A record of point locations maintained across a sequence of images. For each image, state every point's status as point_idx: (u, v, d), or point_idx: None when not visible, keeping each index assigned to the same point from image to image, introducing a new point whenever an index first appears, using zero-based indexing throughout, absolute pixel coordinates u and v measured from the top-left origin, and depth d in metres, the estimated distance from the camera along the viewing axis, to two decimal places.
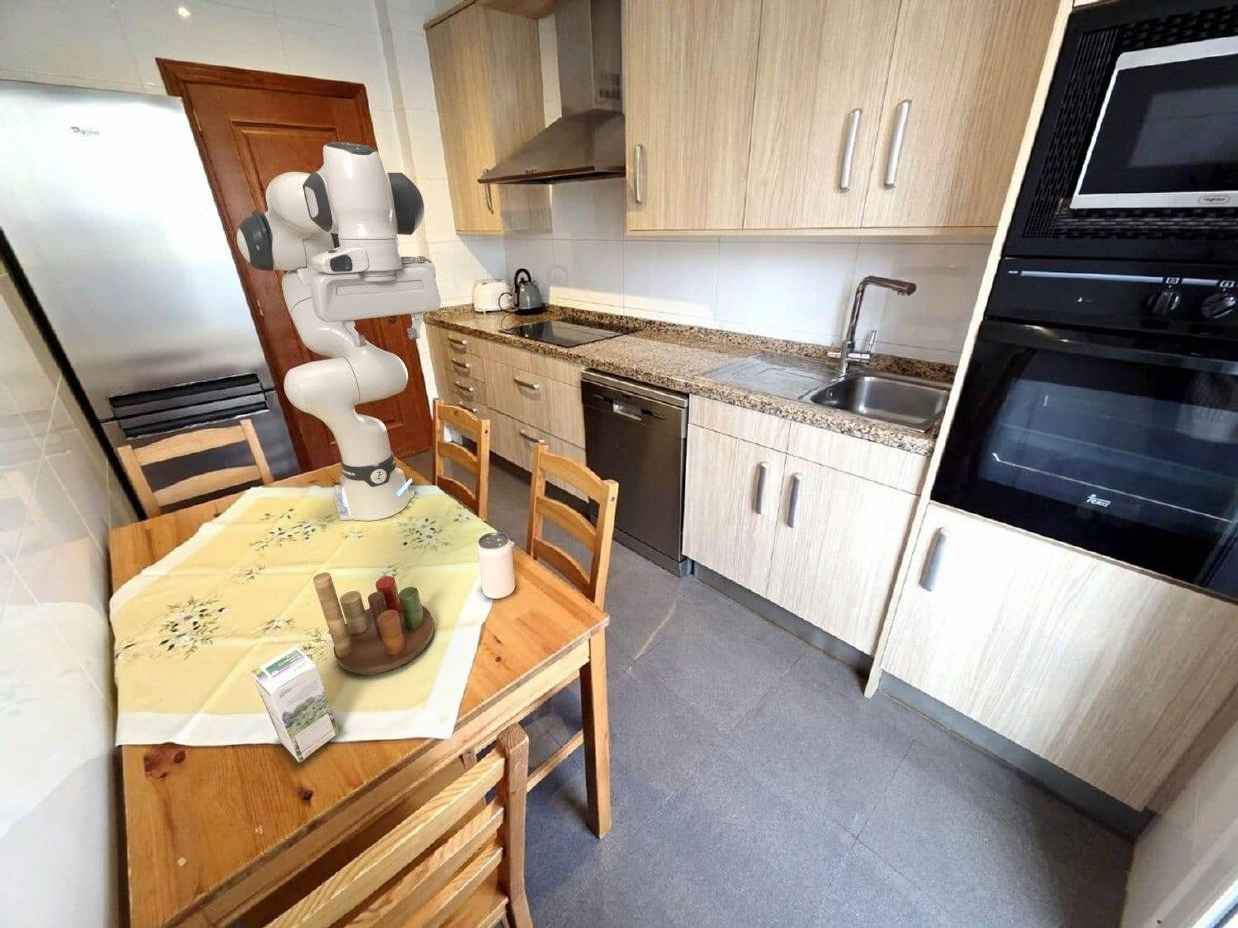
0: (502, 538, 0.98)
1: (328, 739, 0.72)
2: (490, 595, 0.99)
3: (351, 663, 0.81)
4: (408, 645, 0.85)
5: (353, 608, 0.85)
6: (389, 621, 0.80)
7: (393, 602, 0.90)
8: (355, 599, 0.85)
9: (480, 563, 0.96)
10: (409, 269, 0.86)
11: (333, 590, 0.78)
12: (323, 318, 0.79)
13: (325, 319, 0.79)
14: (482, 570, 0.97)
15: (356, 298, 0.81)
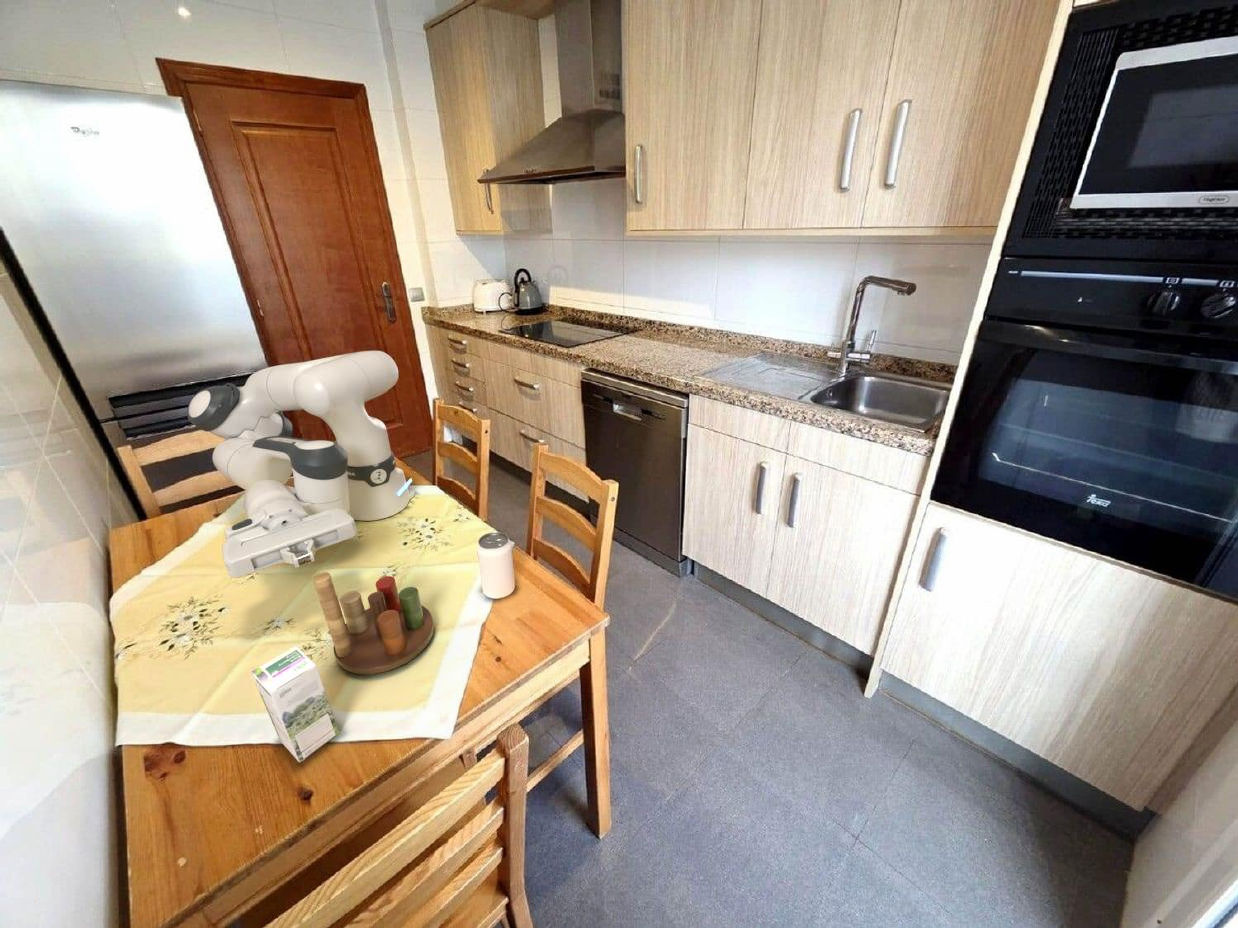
0: (502, 538, 0.98)
1: (328, 739, 0.72)
2: (490, 595, 0.99)
3: (351, 663, 0.81)
4: (408, 645, 0.85)
5: (353, 608, 0.85)
6: (389, 621, 0.80)
7: (393, 602, 0.90)
8: (355, 599, 0.85)
9: (480, 563, 0.96)
10: (315, 514, 0.96)
11: (333, 590, 0.78)
12: (226, 562, 0.82)
13: (228, 561, 0.82)
14: (482, 570, 0.97)
15: (262, 541, 0.87)
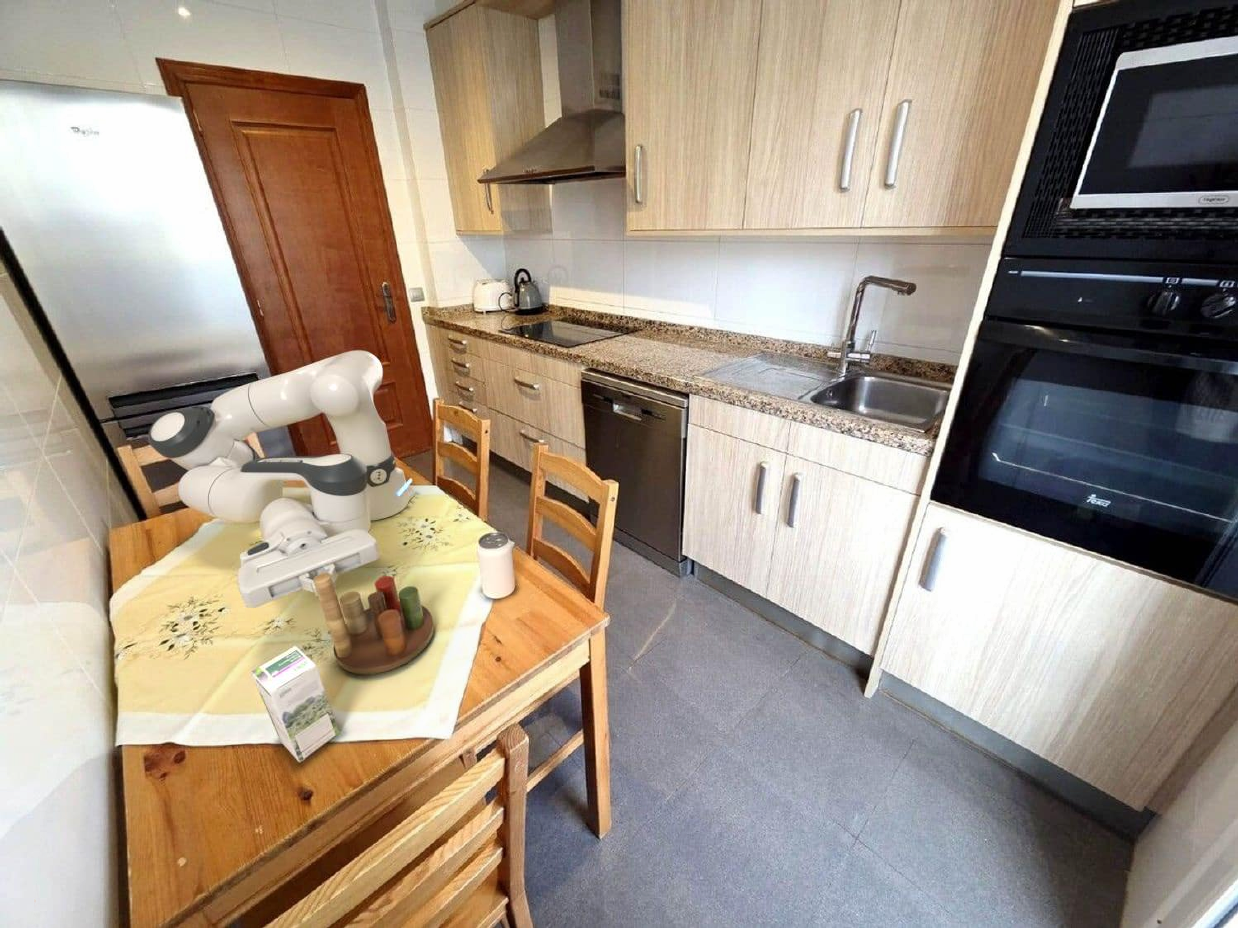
0: (502, 538, 0.98)
1: (328, 739, 0.72)
2: (490, 595, 0.99)
3: (352, 664, 0.81)
4: (408, 644, 0.85)
5: (353, 608, 0.85)
6: (390, 621, 0.80)
7: (393, 602, 0.90)
8: (355, 600, 0.85)
9: (480, 563, 0.96)
10: (335, 535, 0.89)
11: (333, 590, 0.78)
12: (242, 591, 0.76)
13: (244, 590, 0.76)
14: (482, 570, 0.97)
15: (279, 567, 0.81)
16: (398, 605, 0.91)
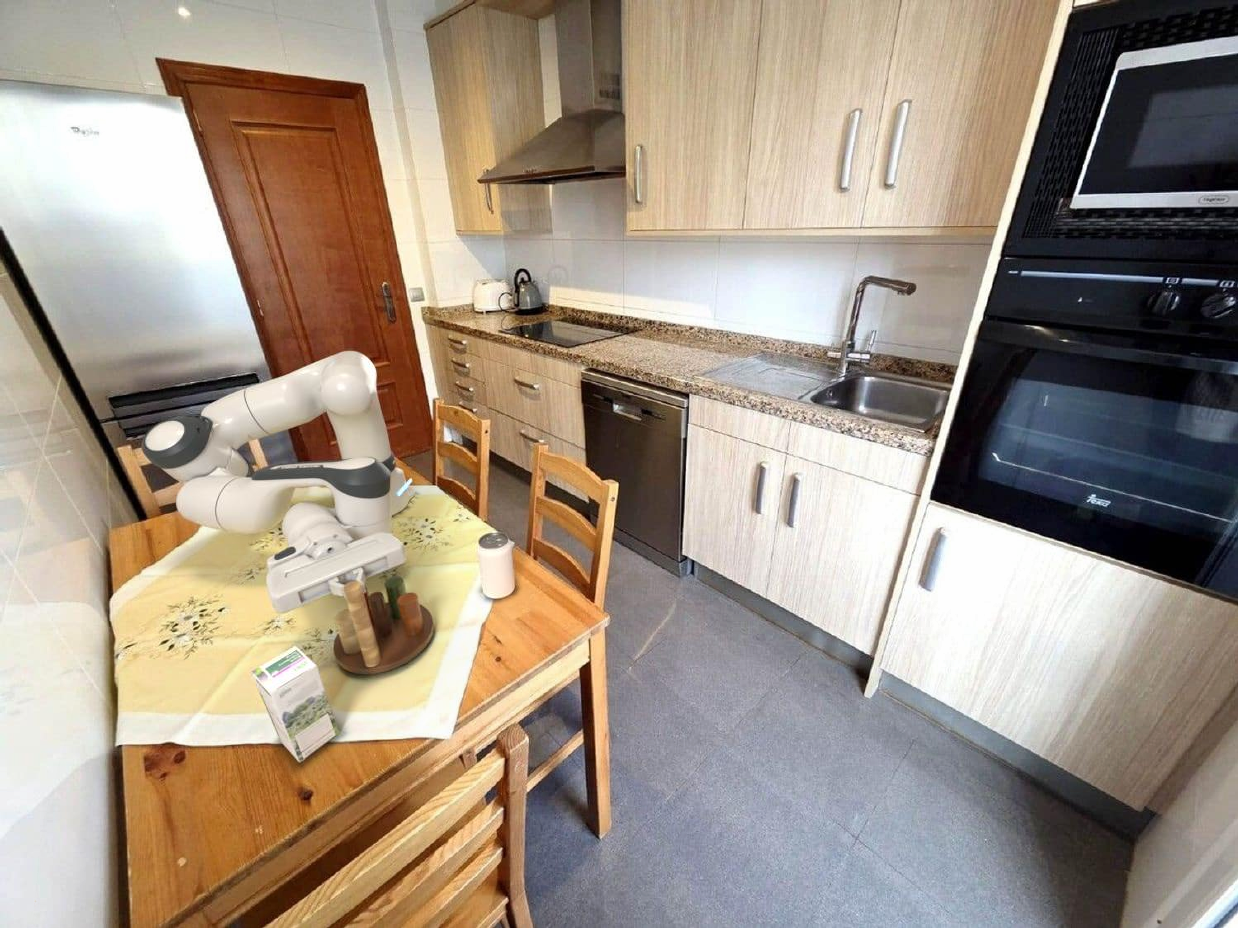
0: (502, 538, 0.98)
1: (328, 739, 0.72)
2: (490, 595, 0.99)
3: (394, 659, 0.82)
4: None
5: None
6: (415, 598, 0.85)
7: None
8: None
9: (480, 563, 0.96)
10: (361, 539, 0.88)
11: None
12: (272, 596, 0.75)
13: (274, 596, 0.75)
14: (482, 570, 0.97)
15: (308, 571, 0.80)
16: None
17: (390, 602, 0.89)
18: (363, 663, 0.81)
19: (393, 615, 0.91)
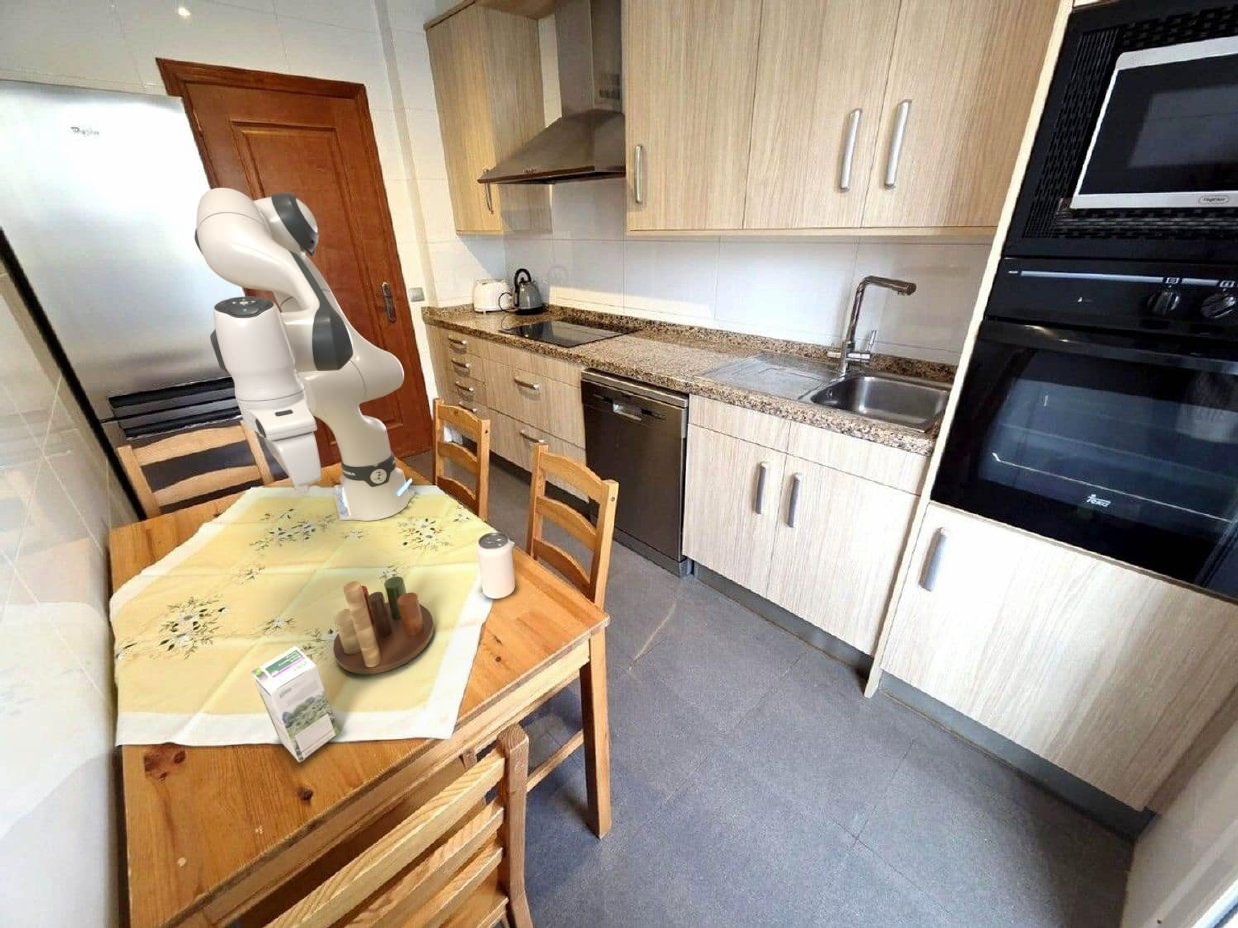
0: (502, 538, 0.98)
1: (328, 739, 0.72)
2: (490, 595, 0.99)
3: (394, 659, 0.82)
4: None
5: None
6: (415, 598, 0.85)
7: None
8: None
9: (480, 563, 0.96)
10: None
11: None
12: (320, 477, 0.75)
13: (321, 477, 0.75)
14: (482, 570, 0.97)
15: None
16: None
17: (390, 602, 0.89)
18: (363, 663, 0.81)
19: (393, 615, 0.91)
